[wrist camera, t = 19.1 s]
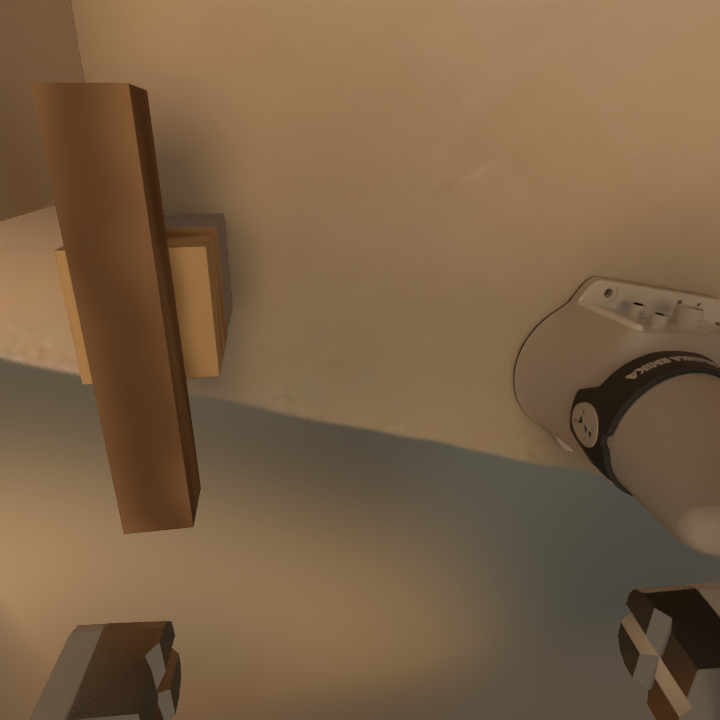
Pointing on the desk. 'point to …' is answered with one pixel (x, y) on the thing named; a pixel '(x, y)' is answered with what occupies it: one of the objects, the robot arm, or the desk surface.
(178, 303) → the tower top
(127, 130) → the walnut bar
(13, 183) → the tall beige box
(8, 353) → the desk surface
